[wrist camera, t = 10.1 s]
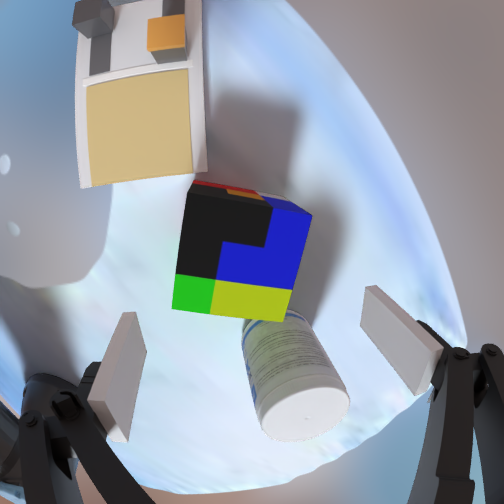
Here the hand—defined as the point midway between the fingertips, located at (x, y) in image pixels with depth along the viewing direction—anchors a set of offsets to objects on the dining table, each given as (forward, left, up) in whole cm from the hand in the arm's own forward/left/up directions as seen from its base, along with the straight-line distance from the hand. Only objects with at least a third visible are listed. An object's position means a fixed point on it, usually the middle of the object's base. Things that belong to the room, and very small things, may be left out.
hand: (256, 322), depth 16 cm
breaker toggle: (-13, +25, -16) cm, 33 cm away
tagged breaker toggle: (-5, +20, -16) cm, 27 cm away
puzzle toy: (0, 0, -19) cm, 19 cm away
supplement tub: (+5, -15, -19) cm, 25 cm away
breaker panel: (-9, +17, -19) cm, 27 cm away
